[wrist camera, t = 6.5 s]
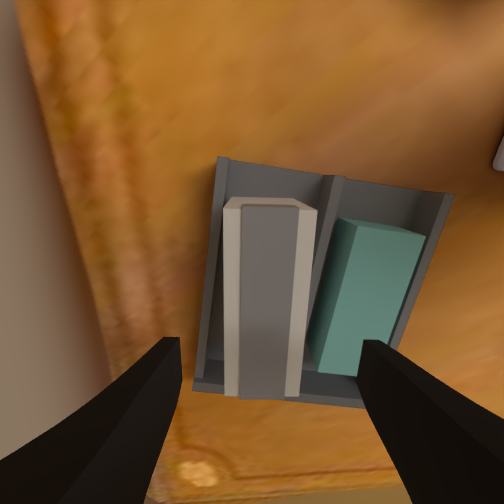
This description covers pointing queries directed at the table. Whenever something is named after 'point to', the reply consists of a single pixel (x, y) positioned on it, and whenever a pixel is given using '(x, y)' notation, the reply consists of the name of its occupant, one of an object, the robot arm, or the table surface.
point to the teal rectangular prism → (361, 291)
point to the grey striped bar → (266, 294)
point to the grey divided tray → (329, 210)
